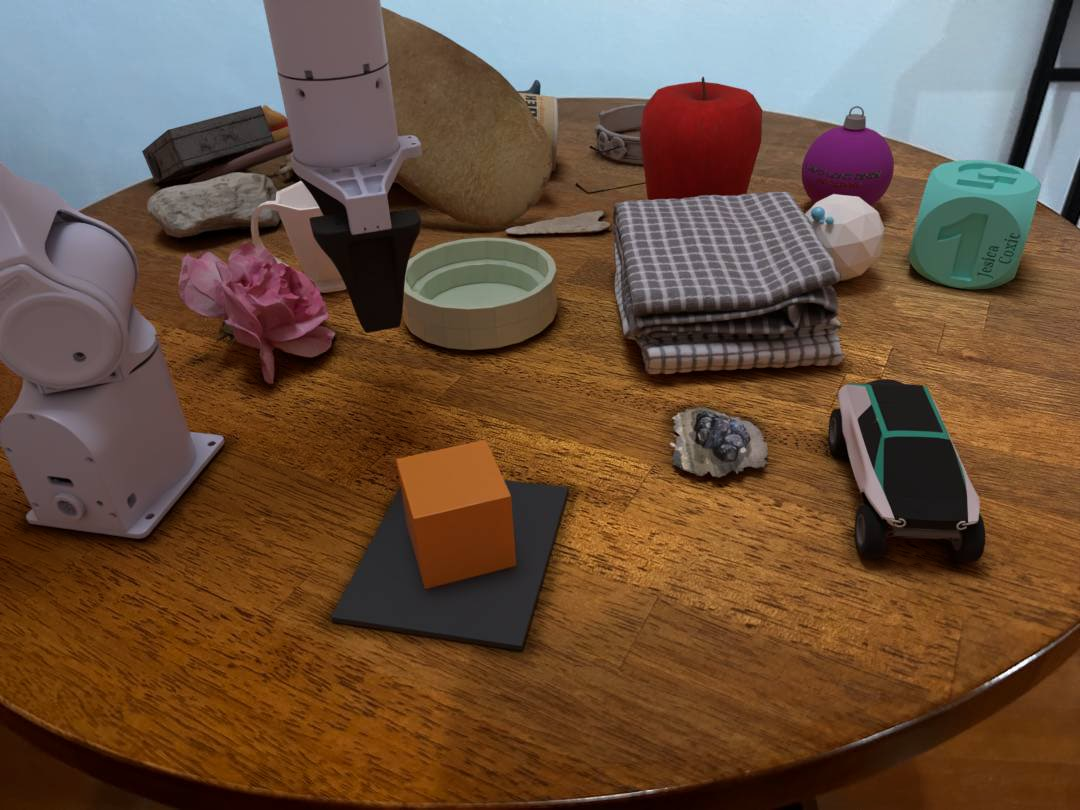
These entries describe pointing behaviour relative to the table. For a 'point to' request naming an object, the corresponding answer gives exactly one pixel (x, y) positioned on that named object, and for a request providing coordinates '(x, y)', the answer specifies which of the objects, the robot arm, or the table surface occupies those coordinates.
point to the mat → (462, 606)
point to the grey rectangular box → (207, 143)
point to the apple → (699, 140)
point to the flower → (257, 303)
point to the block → (457, 513)
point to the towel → (725, 283)
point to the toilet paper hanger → (248, 160)
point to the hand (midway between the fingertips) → (372, 297)
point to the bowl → (480, 293)
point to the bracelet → (608, 139)
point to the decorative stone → (214, 204)
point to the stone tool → (565, 225)
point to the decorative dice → (973, 223)
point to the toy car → (905, 469)
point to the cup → (301, 235)
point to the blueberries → (716, 443)
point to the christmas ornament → (848, 162)
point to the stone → (463, 128)
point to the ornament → (848, 232)
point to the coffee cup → (545, 117)
